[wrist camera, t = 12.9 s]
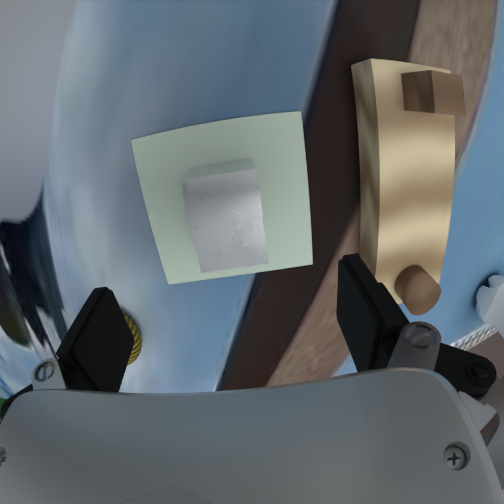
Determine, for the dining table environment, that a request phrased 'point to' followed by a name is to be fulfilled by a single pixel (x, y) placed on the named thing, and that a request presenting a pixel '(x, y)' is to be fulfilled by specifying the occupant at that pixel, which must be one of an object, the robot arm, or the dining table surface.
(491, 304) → the water bottle
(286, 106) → the dining table surface
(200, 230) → the grey block
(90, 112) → the dining table surface
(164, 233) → the mat
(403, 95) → the hand plane
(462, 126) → the dining table surface
